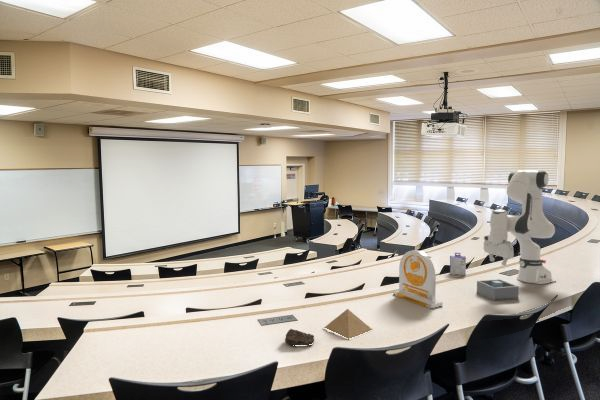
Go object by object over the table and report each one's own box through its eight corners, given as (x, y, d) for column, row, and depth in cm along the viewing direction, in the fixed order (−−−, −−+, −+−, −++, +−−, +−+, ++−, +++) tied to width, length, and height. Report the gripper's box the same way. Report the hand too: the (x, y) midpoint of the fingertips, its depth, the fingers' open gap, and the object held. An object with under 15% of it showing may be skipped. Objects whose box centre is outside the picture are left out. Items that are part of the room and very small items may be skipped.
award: (392, 294, 227) (393, 247, 225) (404, 292, 231) (404, 245, 229) (430, 309, 202) (431, 256, 200) (442, 306, 207) (443, 254, 205)
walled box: (499, 291, 232) (499, 279, 232) (518, 298, 218) (518, 286, 217) (476, 292, 229) (477, 280, 229) (494, 300, 215) (494, 288, 214)
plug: (497, 292, 226) (497, 280, 225) (502, 294, 222) (502, 282, 221) (491, 293, 225) (491, 281, 224) (496, 295, 221) (496, 283, 221)
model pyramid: (345, 320, 189) (345, 299, 188) (374, 331, 176) (374, 309, 175) (320, 329, 178) (320, 307, 177) (349, 341, 165) (349, 318, 164)
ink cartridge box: (464, 273, 273) (464, 252, 272) (466, 275, 268) (466, 254, 267) (449, 272, 275) (449, 252, 274) (450, 274, 270) (451, 253, 269)
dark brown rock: (282, 346, 160) (281, 334, 160) (291, 337, 169) (291, 325, 169) (308, 351, 156) (308, 338, 156) (316, 341, 165) (316, 329, 165)
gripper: (517, 241, 212) (516, 267, 213) (491, 235, 232) (490, 259, 233) (506, 242, 210) (506, 267, 211) (481, 236, 230) (481, 259, 231)
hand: (497, 263), depth 222 cm, fingers open, 8 cm apart
